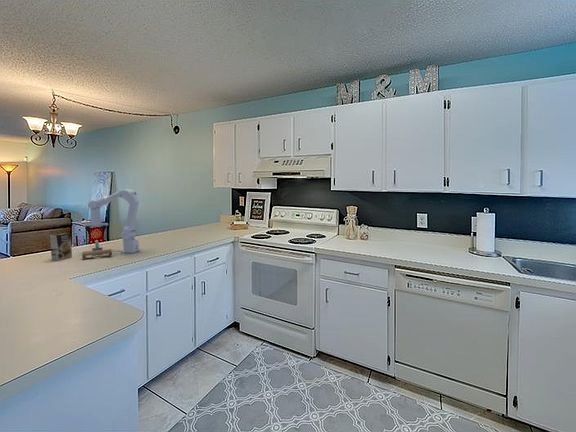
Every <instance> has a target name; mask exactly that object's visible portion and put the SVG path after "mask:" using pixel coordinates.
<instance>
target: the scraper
mask: <svg viewBox="0 0 576 432" xmlns="http://www.w3.org/2000/svg"><path fill="white" fill-rule="evenodd" d="M99 243H100V242H99V241H98V240H97V241H95V242H94V245H95V247H93V248H91V251H97V250H103V247H100V244H99ZM103 255H104V254H98V255H97V256H103ZM91 256H92V257H94V256H96V255H91Z"/></svg>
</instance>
